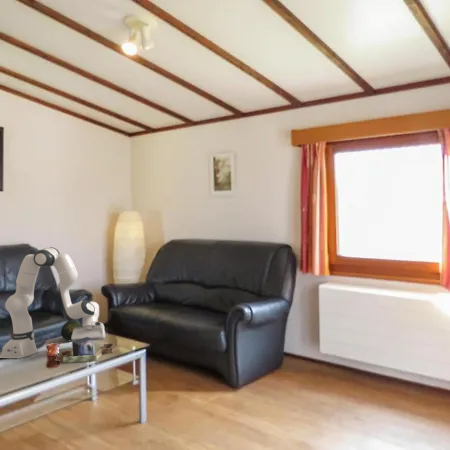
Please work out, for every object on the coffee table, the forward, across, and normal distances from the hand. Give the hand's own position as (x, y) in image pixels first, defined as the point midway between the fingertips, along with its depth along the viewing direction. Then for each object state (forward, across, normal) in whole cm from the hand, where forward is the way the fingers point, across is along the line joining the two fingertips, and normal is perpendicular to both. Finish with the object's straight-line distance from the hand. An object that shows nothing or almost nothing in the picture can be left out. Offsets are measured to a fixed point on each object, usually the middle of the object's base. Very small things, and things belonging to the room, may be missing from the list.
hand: (86, 346), depth 277 cm
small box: (+7, 0, -1) cm, 8 cm away
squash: (-20, -20, +27) cm, 39 cm away
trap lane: (+4, 0, +3) cm, 4 cm away
